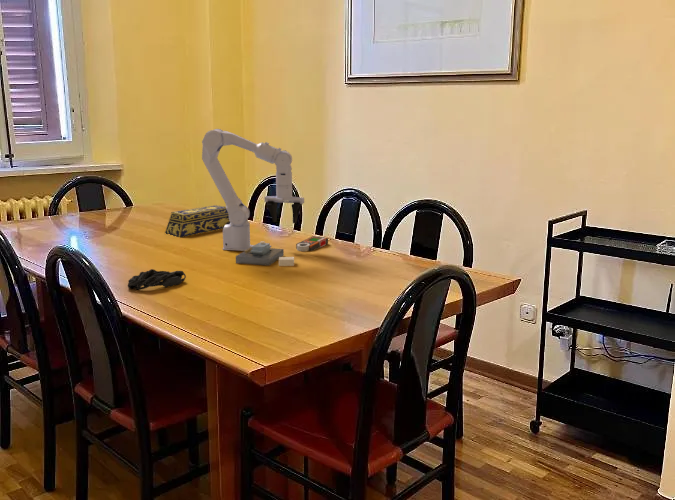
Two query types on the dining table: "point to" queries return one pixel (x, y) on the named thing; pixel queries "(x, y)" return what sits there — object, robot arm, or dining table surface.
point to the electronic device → (312, 243)
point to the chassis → (259, 257)
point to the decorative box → (197, 220)
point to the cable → (156, 279)
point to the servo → (261, 248)
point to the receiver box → (286, 261)
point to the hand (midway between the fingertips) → (284, 222)
